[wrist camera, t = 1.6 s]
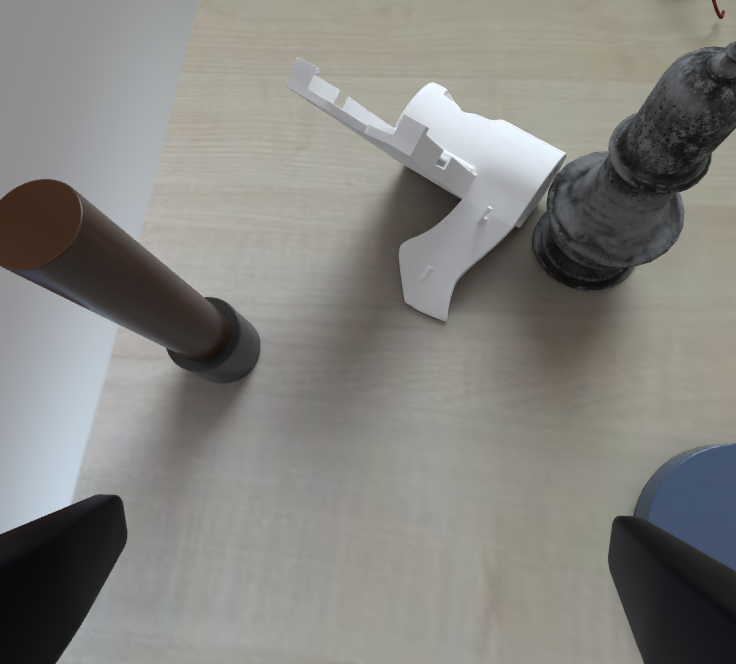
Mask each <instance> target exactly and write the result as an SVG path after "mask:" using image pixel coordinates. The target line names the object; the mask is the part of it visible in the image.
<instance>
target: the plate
mask: <svg viewBox="0 0 736 664" xmlns="http://www.w3.org/2000/svg"><path fill="white" fill-rule="evenodd" d="M635 516H637V517H642V518H644V519H646V520H647V521H649V522H651V523H653V524H654V525H656V526H658V527H660V528H661V529H663V530H665V531H667V532H668V533H670V534H672V535H673V536H675V537H677V538H679V539H680V540H682V541H684V542H686V543H687V544H689V545H691V546H693V547H694V548H696V549H698V550H700V551H701V552H703V553H705V554H707V555H708V556H710V557H712V558H714V559H715V560H717V561H719V562H720V563H722V564H724V565H726V566H727V567H729V568H731V569H733V570H734V571H736V443H735V444H721V445H707V446H703V447H698V448H694V449H691V450H688V451H686V452H683V453H681V454H679V455H677V456H675V457H674V458H672V459H670V460H669V461H668V462H666V463H665V464H664V465H662V466H661V467H660V468H659V469H658V470H657V471H656V473H655V474H654V475H653V476H652V477H651V479H650V480H649V481H648V483H647V484H646V486H645V488H644V490H643V492H642V494H641V496H640V498H639V501H638V504H637V507H636V511H635Z"/></svg>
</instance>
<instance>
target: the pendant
mask: <svg viewBox="0 0 736 664" xmlns="http://www.w3.org/2000/svg"><path fill="white" fill-rule="evenodd" d="M712 2H713V6H714V9H715V11H716V14H717V16H718V17H719V18H720V19H722V18H723V17H724V13H725V11H724V10H723V11H722V13H721V14H720V12H719V10H718V7H717V4H716V1H715V0H712Z"/></svg>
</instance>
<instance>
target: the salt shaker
mask: <svg viewBox="0 0 736 664" xmlns="http://www.w3.org/2000/svg"><path fill="white" fill-rule="evenodd" d="M735 128H736V41H735V42H732V43H730V44H729V45H728V46H727V47H726V48H722V47H705V48H701V49H698V50H695V51H692V52H689V53H687V54H685V55H683V56H682V57H680V58H678V59H677V60H676V61H675V62H674V63H673V64H672V65H671V66H670V67H669V68H668V69H667V70H666V71H665V72H664V73H663V75H662V76H661V78H660V80H659V81H658V83H657V84H656V86H655V87H654V89H653V90H652V92H651V93H650V95H649V96H648V98H647V99H646V101H645V103H644V104H643V106H642V107H641V109H640V110H639V112H638V113H635V114H632V115H631V116H629V117H627V118H626V119H624V120H623V121H622V122H621V123H620V124H619V125H618V126H617V127H616V128H615V130H614V132H613V134H612V136H611V138H610V141H609V149H608V150H609V151H606V152H595V153H591V154H588V155H584V156H581V157H579V158H577V159H575V160H574V161H572V162H570V163H569V164H567V165H566V166H565V167H564V168H563V169H562V170H561V171H560V172H559V173H558V174H557V175H556V177H555V179H554V181H553V183H552V184H551V186H550V188H549V192H548V198H547V211H546V213H545V214H544V215H543V216H542V217H541V218H540V220H539V222H538V224H537V226H536V228H535V233H534V239H533V241H534V249H535V253H536V256H537V258H538V260H539V263H540V264H541V265H542V267H543V268H544V269H545V270H546V272H547V273H548V274H549V275H551V276H552V277H553V278H555V279H556V280H557V281H558V282H560V283H563V284H565V285H567V286H569V287H572V288H576V289H581V290H601V289H604V288H608V287H611V286H614V285H615V284H617V283H619V282H620V281H622V280H624V279H625V278H626V277H627V276H628V275H629V273H630V272H631V271H632V270H633V269H634V267H635V266H638V265H642V264H645V263H649V262H651V261H653V260H655V259H656V258H658V257H660V256H661V255H663V254H664V253H666V252H667V251H668V250H669V249H670V247H671V246H672V245H673V244H674V243H675V242H676V241H677V239H678V237H679V235H680V232H681V230H682V228H683V223H684V206H683V202H682V198H681V195H680V193H679V192H681V191H684V190H687V189H689V188H691V187H692V186H694V185H695V184H697V183H698V182H699V181H700V180H701V179H702V178H703V177H704V175H705V174H706V173H707V171H708V169H709V166H710V164H711V155H712V152H713V151H714V150H715V149H716V148H717V147H718V146H719V145H720V144H721V143H722V142H723V141H724V140H725V139H726V138H727V137H728V136H729V135H730V134H731V132H732V131H733V130H734V129H735Z"/></svg>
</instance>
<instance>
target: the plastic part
mask: <svg viewBox="0 0 736 664" xmlns="http://www.w3.org/2000/svg"><path fill="white" fill-rule="evenodd" d="M319 71H320V70H319V69H318V68H317V67H315V66H313V65H312V64H310V63H308V62H307V61H305V60H303V59H301V58H300V57H298V56H297V58H296V61H295V63H294V66H293V68H292V71H291V74H290V76H289V78H288V81H287V83H286V85H285V87H287V88H288V89H290V90H291V91H293V92H294V93H296V94H298V95H299V96H301V97H302V98H304V99H305V100H307V101H308V102H310V103H311V104H313V105H315V106H316V107H318V108H319V109H321V110H322V111H324V112H325V113H327V114H329V115H330V116H332V117H333V118H335V119H336V120H338V121H339V122H341V123H342V124H344V125H345V126H347V127H348V128H350V129H351V130H353V131H354V132H356V133H357V134H358V135H360V136H361V137H363V138H364V139H366V140H367V141H369V142H371V143H372V144H374V145H375V146H377V147H378V148H380V149H381V150H383V151H384V152H386V153H387V154H388V155H390V156H391V157H392V158H394V159H395V160H397V161H398V162H400V163H402V164H403V165H405V166H407V167H408V168H410V169H412V170H413V171H415V172H417V173H418V174H420V175H422V176H423V177H425V178H427V179H428V180H430V181H432V182H433V183H435V184H437V185H438V186H440V187H442V188H443V189H445V190H447V191H448V192H450V193H452V194H453V195H455V196H457V197H458V198H460V199H462V200H461V201H460V202H459V203H458V205H457V206H456V207H455V208H454V209H453V210H452V211H451V212H450V213H449V214H448V215H447V216H446V217H445V218H444V219H443V220H442V221H441V222H440V223H438V224H437V225H436V226H435V227H433V228H432V229H430V230H429V231H427V232H425V233H423V234H421V235H419V236H416V237H414V238H411V239H409V240H407V241H405V242H404V243H403V244H402V245H401V246H400V249H399V264H400V272H401V280H402V288H403V295H404V300H405V302H406V303H407V304H409V305H410V306H412V307H413V308H415V309H417V310H418V311H420V312H422V313H424V314H427V315H430V316H432V317H435V318H437V319H440V320H442V321H445V322H447V318H448V309H449V304H450V300H451V297H452V294H453V291H454V288H455V285H456V283H457V281H458V280H459V279H460V277H461V276H462V275H463V274H464V273H465V272H466V271H468V270H469V269H470V268H471V267H472V266H473V265H474V264H475V263H476V262H477V261H479V260H480V259H481V258H482V257H483V256H485V255H486V254H487V253H488V252H489V251H490V250H492V249H493V248H494V247H495V246H496V245H497V244H498V243H499V242H500V241H501V240H502V239H503V238H504V237H505V236H506V235H507V234H508V233H509V232H510V231H511V230H512V229H513V228H514V227H515V226H516V227H518V228H520V227H521V226H522V225H523V224H524V222H525V221H526V220H527V218H528V217H529V216H530V214H531V213H532V211H533V210H534V209H535V207H536V206H537V205H538V203H539V202H540V200H541V199H542V197H543V196H544V194H545V193H546V191H547V190H548V188H549V186H550V185H551V183H552V182H553V180H554V178H555V177H556V175H557V173H558V171H559V170H560V168H561V166H562V164H563V162H564V160H565V158H566V155H567V154H566V153H564V152H563V151H561V150H559V149H557V148H555V147H553V146H551V145H549V144H548V143H546V142H544V141H542V140H540V139H538V138H536V137H534V136H533V135H531V134H529V133H527V132H525V131H523V130H521V129H520V128H518V127H516V126H514V125H512V124H510V123H508V122H506V121H504V120H495V121H492V120H489V119H486V118H484V117H482V116H480V115H477V114H471V113H465V112H463V111H462V110H461V109H460V108H459V106H458V105H457V104H456V103H455V102H454V100H453V98H452V96H451V95H450V94H449V93H448V92H447V89H446V88H444V87H442V86H440V85H438V84H437V83H429V84H427V85H426V86H424V87H423V88H422V89H421V90H420V91H419V92H418V93H417V94H416V95H415V96H414V97H413V99H412V100H411V101H410V102H409V104H408V105H407V106H406V108H405V109H404V111H403V113H402V114H401V116H400V118H399V120H398V122H397V124H396V125H395V127H392V126H390V125H389V124H387V123H386V122H384V121H383V120H381V119H380V118H378V117H377V116H375V115H374V114H373V113H371V112H370V111H368V110H367V109H365V108H364V107H363V106H361V105H360V104H358V103H357V102H355V101H354V100H353V99H351V98H350V97H347V99H346V101H345V103H344V105H343V107H342V109H341V108H340V107H338V106H336V105H335V104H334V102H335V100H336V98H337V96H338V93H339V91H340V90H339V89H337V88H336V87H334V86H332V85H331V84H329V83H327V82H326V81H324V80H322V79H321V78H319V77H318V76H316V75H315V74H316V73H319Z"/></svg>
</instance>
